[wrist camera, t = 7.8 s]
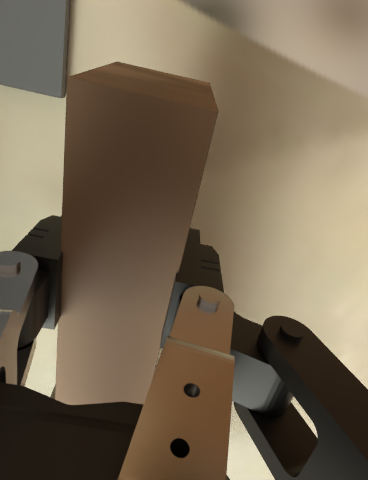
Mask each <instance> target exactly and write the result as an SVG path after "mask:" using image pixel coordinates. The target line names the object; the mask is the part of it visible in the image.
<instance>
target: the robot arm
mask: <svg viewBox="0 0 368 480" xmlns="http://www.w3.org/2000/svg"><path fill="white" fill-rule="evenodd" d="M61 231H62V216H61V217H59V216H54V215H52V216H50V217H47V218H45V219H42V220H40V221H39V222H38V223H37V224H36V226H35V227H34V228H33V229H32V230H31V231H30V232H29V233H28V235H26V236H25V237H24V238H23V239H22V240H21V241H20V242H19V243H18V244H17V246H16V247H15V248H14V249H13V250H12V251H3V252H0V480H230V479H229V478H228V476H227V475H226V471H227V458H228V445H229V432H230V418H231V405H232V401H234V407H235V410H236V412H237V414H238V415H239V417H240V419H241V421H242V422H243V424H244V426H245V428H246V429H247V431H248V433H249V435H250V436H251V438H252V440H253V442H254V443H255V445H256V447H257V449H258V450H259V452H260V454H261V456H262V457H263V459H264V461H265V463H266V464H267V466H268V468H269V470H270V471H271V473H272V475H273V477H274V478H275V480H368V389H367V388H366V387H365V386H364V385H363V384H362V383H361V382H360V381H359V380H358V379H357V378H356V377H355V376H354V375H353V374H352V373H351V372H350V371H349V370H348V369H347V368H346V367H345V366H344V364H343V363H342V362H341V361H340V360H339V359H338V358H337V357H336V356H335V355H334V354H333V353H332V352H331V351H330V350H329V349H328V348H327V347H326V346H325V345H324V344H323V343H322V342H321V341H320V340H319V339H318V338H317V336H316V335H315V334H314V333H313V332H312V331H311V330H310V329H309V328H307V327H306V326H305V325H303V324H302V323H300V322H298V321H296V320H294V319H292V318H289V317H284V316H272V317H269V318H267V319H266V320H265V321H264V324H263V326H261V325H259V324H257V323H254V322H252V321H249V320H247V319H245V318H243V317H241V316H239V315H238V314H236V313H235V312H234V304H233V302H232V300H231V299H230V298H229V297H228V296H227V295H226V294H224V290H223V283H222V276H221V272H220V271H221V269H220V265H219V264H220V262H219V255H218V254H217V252H216V251H215V250H214V249H213V247H212V246H208V245H202V244H200V232H199V230H196V229H191V228H189V232H188V236H187V240H186V244H185V249H184V253H183V257H182V261H181V265H180V269H179V273H176V276H175V280H174V284H173V288H172V292H171V296H170V300H169V305H168V309H167V313H166V317H165V321H164V325H163V329H162V334H161V342H160V348H163V350H162V353H161V356H160V359H159V362H158V364H157V367H156V370H155V373H154V376H153V379H152V382H151V385H150V388H149V391H148V393H147V396H146V399H145V402H144V405H143V404H137V403H130V402H124V401H123V402H110V403H96V404H83V405H68V404H65V403H62V402H60V401H58V400H55V399H53V398H50V397H48V396H46V395H43V394H41V393H38V392H36V391H34V390H31V389H29V388H27V387H24V386H25V383H26V379H27V376H28V372H29V369H30V365H31V362H32V358H33V355H34V351H35V348H36V337H37V335H38V333H39V331H40V330H41V328H48V329H55V327H56V325H57V323H58V321H59V319H60V315H61V291H62V267H63V252H61ZM293 396H294V397H295V398H296V400H297V401H298V402H299V404H300V405H301V406H302V408H303V409H304V410H305V412H306V413H307V414H308V416H309V417H310V418H311V420H312V421H313V423H314V425H315V427H316V430H317V435H318V438H317V437H316V436H315V434H314V433H313V432H312V430H311V429H310V427H309V426H308V425H307V423H306V422H305V421H304V419H303V418H302V417H301V415H300V414H299V412H298V411H297V410H296V408H295V407H294V406H293V404H292V403H291V400H292V398H293Z"/></svg>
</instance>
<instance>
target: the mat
mask: <svg viewBox="0 0 368 480" xmlns="http://www.w3.org/2000/svg"><path fill="white" fill-rule="evenodd" d="M69 11H70V0H0V85H4V86H9V87H13V88H18V89H22V90H27V91H31V92H35V93H40V94H44V95H49V96H53V97H58V98H64V97H65V81H66V64H67V46H68V29H69Z"/></svg>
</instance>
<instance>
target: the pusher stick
mask: <svg viewBox="0 0 368 480" xmlns="http://www.w3.org/2000/svg"><path fill="white" fill-rule="evenodd" d="M217 114H218V109H217V106H216V103H215V99H214V96H213V93H212V90H211V86H210V83H207V82H203V81H198V80H194V79H190V78H185V77H181V76H177V75H173V74H168V73H164V72H160V71H155V70H151V69H147V68H142V67H138V66H134V65H129V64H125V63H121V62H115V63H111V64H108V65H105V66H102V67H98V68H95V69H92V70H89V71H86V72H82V73H79V74H76V75H73V76H69V77H67V97H66V124H65V151H64V177H63V204H62V231H61V252H63V267H62V291H61V315H60V319H59V321H58V338H57V364H56V384H55V387H54V389H53V392H52V394H51V397H50V398H53V399H55V400H58V401H60V402H62V403H65V404H68V405H83V404H96V403H110V402H123V401H124V402H130V403H137V404H143V405H144V402H145V399H146V396H147V393H148V391H149V388H150V385H151V382H152V379H153V375H154V371H155V367H156V363H157V359H158V355H159V350H160V342H161V334H162V329H163V325H164V321H165V317H166V313H167V309H168V305H169V300H170V296H171V292H172V288H173V284H174V280H175V276H176V273H179V269H180V265H181V261H182V257H183V253H184V249H185V244H186V240H187V236H188V232H189V228H190V224H191V220H192V216H193V212H194V208H195V204H196V200H197V196H198V191H199V187H200V183H201V179H202V175H203V171H204V167H205V163H206V159H207V155H208V151H209V147H210V143H211V138H212V134H213V130H214V126H215V122H216V118H217Z"/></svg>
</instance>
